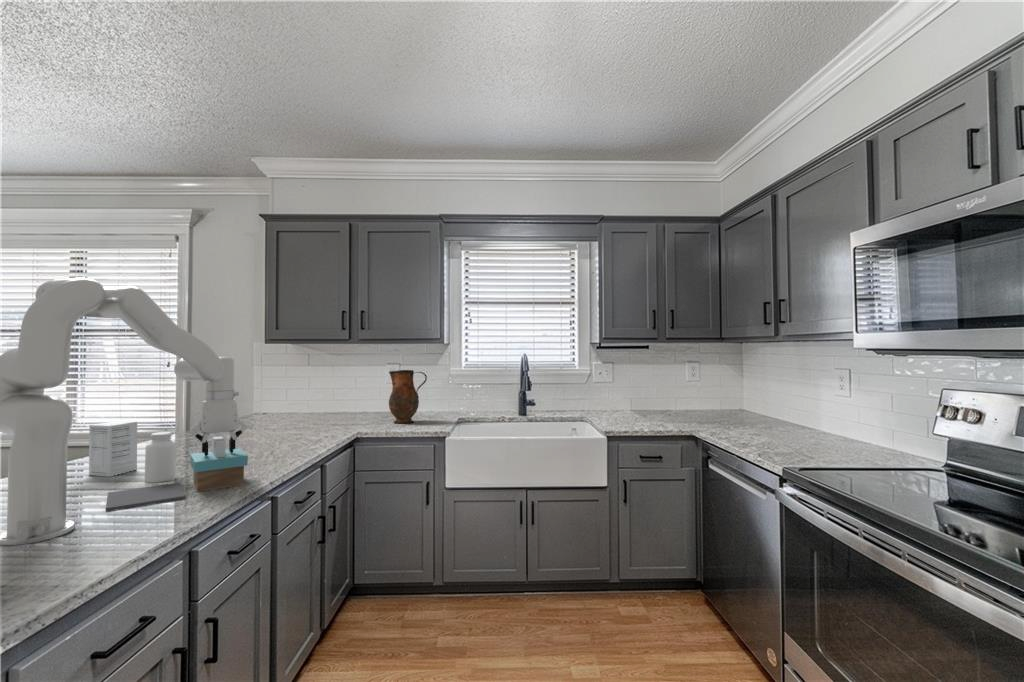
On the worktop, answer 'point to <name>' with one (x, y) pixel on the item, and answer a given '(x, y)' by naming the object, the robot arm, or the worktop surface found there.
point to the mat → (144, 496)
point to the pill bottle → (160, 458)
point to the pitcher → (404, 396)
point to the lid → (218, 457)
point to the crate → (219, 478)
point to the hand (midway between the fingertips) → (218, 452)
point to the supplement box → (112, 448)
